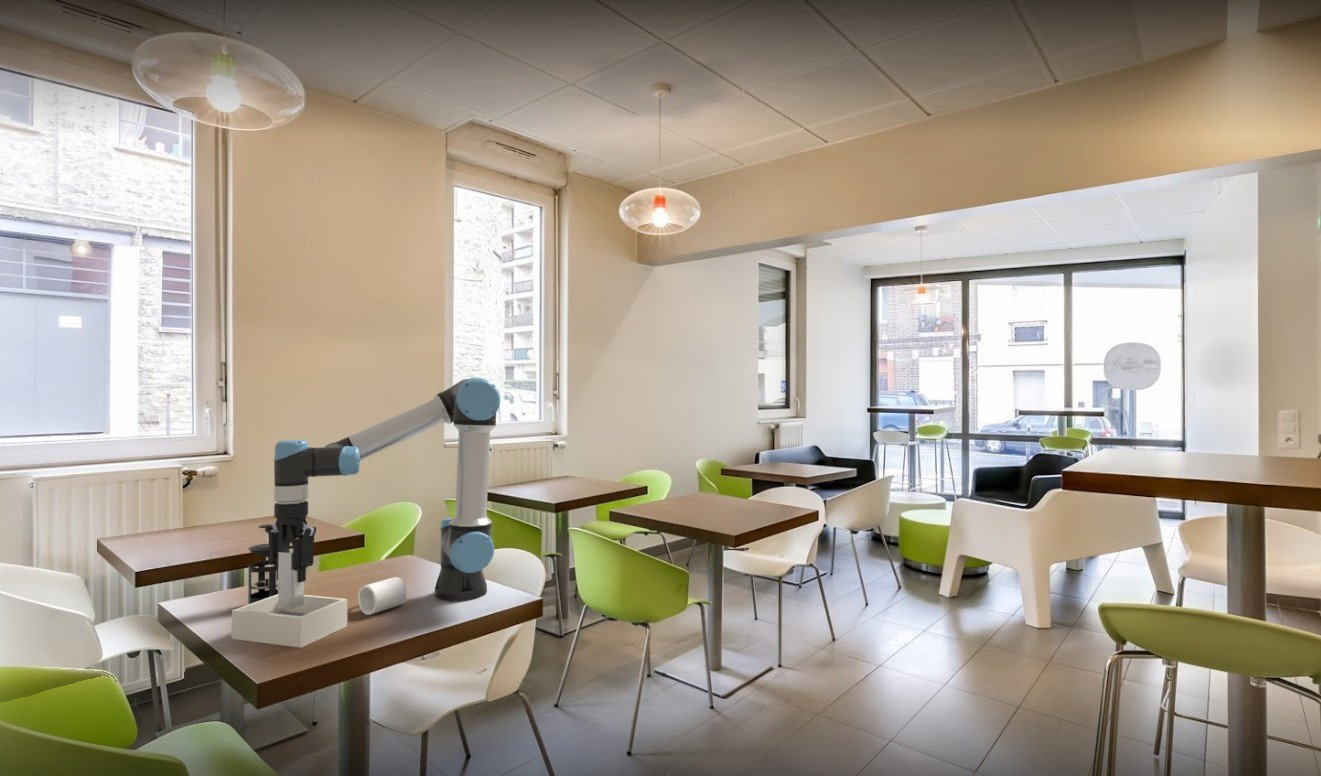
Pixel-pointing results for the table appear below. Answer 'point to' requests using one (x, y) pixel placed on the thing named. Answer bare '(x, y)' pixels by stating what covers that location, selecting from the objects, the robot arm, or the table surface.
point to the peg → (287, 581)
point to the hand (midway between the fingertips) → (291, 593)
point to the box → (289, 621)
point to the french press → (262, 573)
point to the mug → (382, 595)
